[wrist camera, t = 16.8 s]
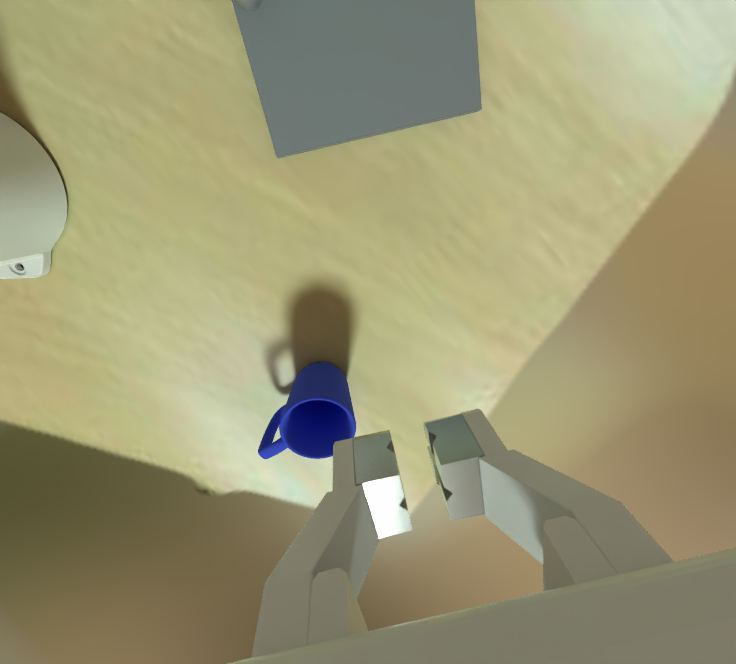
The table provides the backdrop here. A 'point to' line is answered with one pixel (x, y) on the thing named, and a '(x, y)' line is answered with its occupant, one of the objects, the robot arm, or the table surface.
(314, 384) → the mug
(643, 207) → the table surface
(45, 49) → the table surface
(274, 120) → the board
